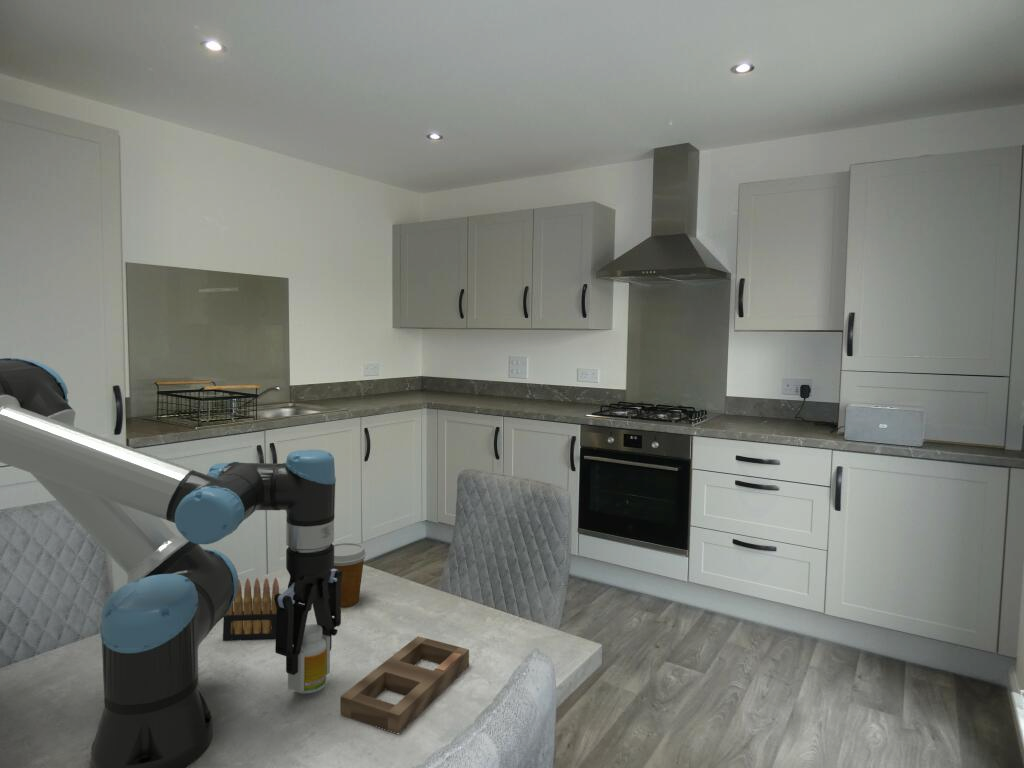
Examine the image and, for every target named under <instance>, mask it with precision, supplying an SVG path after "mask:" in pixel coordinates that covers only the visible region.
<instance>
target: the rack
mask: <svg viewBox="0 0 1024 768" xmlns="http://www.w3.org/2000/svg"><path fill="white" fill-rule="evenodd" d="M420 660H424V661H427V660H428V661H427V662H432V663H435V664H439V665H438V666H436V668H435V669H434V670H433V669H429V668H426V667H422V666H418V665H415V664H417V663H418V662H419V661H420ZM417 661H418V662H417ZM468 666H470V649H469V648H465V647H461V646H458V645H453V644H450V643H447V642H443V641H438V640H435V639H430V638H427V637H422V636H420V635H417V636H416V637H415V638H414V639H412V640H411V641H409V643H407V644H406V645H404V646H403V647H402V648H401V649H400V650H398V651H397V652H395V653H394V654H393V655H392V656H390V657H389V658H388V659H386V660H385V661H384V662H383V663H381V664H380V665H378V666H377V667H376V668H374V670H372V671H371V672H370V673H368V674H367V675H366V676H364V677H363V678H362V679H361V680H359V681H358V682H357V683H356V684H355V685H353V686H352V687H350V688H349V689H347V690H346V691H345V692H344V693H343V694H341V695H340V696H339V697H340V698H339V701H340V703H339V705H340V707H339V711H340V712H339V713H340V716H344V717H346V718H350V719H352V720H355V721H358V722H361V723H363V724H366V725H369V724H370V726H372V725H373V726H372V727H375V726H377V727H376V728H378V727H380V728H379V729H381V728H383V729H382V730H384V729H386V730H385V731H387V730H389V731H388V732H390V731H392V732H391V733H393V732H395V733H394V734H396V733H400V732H401V731H402V730H403V729H404V728H405V727H406V726H407V725H408V724H409V723H410V722H411V723H412V722H413V721H414V720H415V719H417V717H418V716H420V714H421V713H422V712H423V711H424V710H425V709H426V708H427V707H429V705H430V704H431V703H433V702H434V700H435V699H436V698H437V697H438V696H440V694H442V693H443V691H445V690H446V688H448V686H450V685H451V683H453V681H454V680H455V679H457V678H458V677H459V676H460V675H461V674H462V673H463V672H464V671H465V670H466V669H467V667H468ZM463 670H464V671H463ZM461 672H462V673H461ZM459 674H460V675H459ZM458 675H459V676H458ZM457 676H458V677H457ZM456 677H457V678H456ZM385 690H388V691H392V692H394V693H398V694H400V695H403V694H404V695H403V698H401V699H400V700H399V701H398V702H397V703H396V704H393V703H390V702H387V701H385V700H382V699H378V698H377V696H378V695H380V694H381V693H382V692H383V691H385ZM423 709H424V710H423ZM411 723H410V724H411ZM410 724H409V725H410ZM409 725H408V726H409ZM408 726H407V727H408ZM407 727H406V728H407ZM406 728H405V729H406ZM405 729H404V730H405ZM404 730H403V731H404ZM403 731H402V732H403ZM402 732H401V733H402ZM401 733H400V734H401Z"/></svg>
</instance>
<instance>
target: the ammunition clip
mask: <svg viewBox="0 0 1024 768" xmlns="http://www.w3.org/2000/svg"><path fill="white" fill-rule="evenodd" d="M238 580H239V584H238V591H237V595H236V597H235V600H234V601H233V603H232V605H231V607H230V609H229V611H228V612H227V614H226V615H225V616H224V617H223V621H222V622H223V623H222V624H223V625H222V626H223V628H222V641H223V642H233V641H234V642H235V641H237V642H238V640H239V641H240V640H241V641H263V640H264V641H268V640H276V613H277V608H276V604H275V601H274V597H275V595H276V594H277V593H279V594H280V587H279V586H280V585H279V582H278V578H277V577H274V579H273V583H272V591H270V590H271V587H270V582H269V579H268V577H265V578H264V582H263V587H262V593H261V586H260V585H261V583H260V580H259V578H258V577H256V578H255V581H254V585H253V597H252V586H251V582H250V579H249V578H246V580H245V583H244V590H243V591H244V593H243V592H242V584H241V581H240V579H239V578H238ZM271 592H272V593H271ZM242 593H243V594H242ZM243 595H244V596H243Z"/></svg>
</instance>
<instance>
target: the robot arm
mask: <svg viewBox="0 0 1024 768" xmlns="http://www.w3.org/2000/svg"><path fill="white" fill-rule="evenodd" d="M68 393H69V391H68V387H67V385H66V383H65V381H64V379H63V378H62V377H61V375H59V373H57V371H55V369H53V368H51V367H50V366H48V365H46V364H44V363H42V362H39V361H36V360H32V359H28V358H27V359H25V358H24V359H23V358H17V357H16V358H15V357H3V358H0V464H4V465H7V466H10V467H13V468H15V469H17V470H18V469H19V470H22V471H25V472H27V473H30V474H31V476H33V478H35V479H36V480H37V482H39V483H40V484H41V486H43V488H44V489H45V490H47V492H48V493H49V494H50V495H51V496H52V497H53V498H54V499H55V500H56V501H57V503H59V504H60V505H61V507H63V509H65V510H66V512H67V513H68V514H69V515H70V516H71V517H72V518H73V519H74V520H75V521H76V522H77V523H78V525H80V526H81V528H82V529H83V530H85V532H86V533H88V535H90V537H91V538H92V539H93V540H94V541H95V542H96V543H97V544H98V545H99V546H100V547H101V549H103V550H104V551H105V553H107V555H108V556H109V557H110V558H112V560H113V561H114V562H115V563H116V564H117V565H118V566H119V567H120V568H121V570H123V571H124V572H125V574H126V576H127V582H126V584H125V585H123V586H121V587H119V588H118V589H117V590H116V591H114V592H113V593H112V594H111V595H110V596H109V597H108V599H107V600H105V603H104V605H103V608H102V611H101V623H100V627H99V628H100V629H99V634H100V639H101V653H102V654H101V655H102V674H103V678H102V679H103V699H104V704H103V705H104V708H103V711H102V715H101V718H100V721H99V723H98V726H97V727H98V728H97V731H96V734H95V738H94V740H93V741H92V744H91V748H90V749H91V750H90V767H91V768H185V767H187V766H188V765H190V764H192V763H193V762H194V761H195V760H196V759H198V758H199V757H200V756H201V755H202V754H204V752H205V751H206V750H207V749H208V747H209V746H210V744H211V741H212V739H213V736H214V735H213V733H214V731H213V725H214V724H213V715H212V714H211V711H210V709H209V705H208V704H207V702H206V699H205V698H204V695H203V693H202V690H201V688H200V684H199V646H200V645H201V643H202V642H203V641H204V639H206V638H207V636H208V635H209V634H210V632H211V631H212V630H213V629H214V627H215V626H216V625H217V624H218V623H219V622H220V621H221V620H222V619H224V616H225V615H226V614H227V612H228V611H229V609H230V607H231V605H232V603H233V604H234V600H235V597H236V595H237V591H238V584H239V580H240V579H239V575H238V574H239V573H238V571H237V567H235V565H234V563H233V562H232V560H231V559H230V558H229V557H228V556H227V555H225V554H224V553H223V552H220V551H218V550H217V549H208V548H203V547H202V546H201V545H210V544H214V543H217V542H219V541H220V540H222V539H224V538H225V537H227V536H229V535H231V534H233V533H234V532H235V531H237V529H238V528H239V526H240V525H241V524H242V523H243V522H244V521H245V520H246V519H248V518H249V517H250V516H251V515H253V513H254V512H256V511H285V512H286V515H285V517H286V521H285V522H286V525H285V526H286V527H285V529H286V533H285V534H286V536H285V537H286V538H285V544H286V546H287V548H286V550H285V551H286V553H285V555H286V556H285V557H286V558H285V559H286V560H285V568H286V570H287V572H288V575H289V581H288V585H287V589H286V590H285V591H283V592H282V593H280V592H279V593H277V594H276V595H275V597H274V601H275V604H276V608H277V613H276V639H275V645H274V646H275V647H274V651H275V653H276V654H277V655H280V656H284V657H285V672H286V673H287V689H288V690H290V691H293V692H295V693H298V694H303V693H302V692H303V691H304V652H301V646H302V641H303V636H304V631H305V626H306V625H307V619H308V616H309V612H310V611H312V608H313V611H314V616H315V621H316V622H315V623H316V625H320V626H321V627H322V638H323V639H324V640H325V641H326V676H328V675H329V674H330V673H331V671H330V669H331V650H332V647H333V646H332V641H333V640H332V636H336V635H337V634H338V629H336V627H340V626H341V624H342V608H341V579H342V575H343V572H342V571H341V570H337V569H332V568H333V566H334V544H333V543H334V542H335V508H336V506H335V505H336V481H337V477H336V471H335V470H336V469H335V457H334V455H333V454H332V453H331V452H329V451H327V450H323V449H322V450H321V449H299V450H295V451H292V452H290V453H288V454H287V457H286V461H285V462H283V463H266V462H265V463H263V462H259V463H258V462H240V461H232V462H219V463H218V462H217V463H215V464H213V465H212V466H211V467H210V468H209V469H208V472H207V473H206V474H205V473H202V472H199V471H196V470H194V469H192V468H189V467H186V466H183V465H180V464H178V463H175V462H173V461H172V462H171V461H169V460H167V459H165V458H161V457H158V456H156V455H153V454H151V453H148V452H145V451H142V450H139V449H136V448H134V447H132V446H128V445H125V444H122V443H121V442H117V441H114V440H111V439H109V438H107V437H106V438H105V437H103V436H100V435H98V434H95V433H92V432H89V431H86V430H84V429H81V428H78V427H76V426H75V418H76V410H75V409H73V408H72V407H71V406H70V405H69V398H68V396H67V395H68ZM163 520H166V521H168V522H171V523H174V524H175V527H176V529H177V531H178V532H179V533H180V534H181V536H179V535H176V533H174V532H173V531H172V529H171V528H170V527H169V526H168V525H167V524H166V523H165V522H164V521H163ZM238 579H239V580H238Z"/></svg>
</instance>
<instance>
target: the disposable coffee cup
mask: <svg viewBox="0 0 1024 768" xmlns="http://www.w3.org/2000/svg"><path fill="white" fill-rule="evenodd" d="M333 545H334V566H333V568H332V569H337V570H341V571H342V572H343V575H342V579H341V609H342V608H343V607H344V608H348V607H349V608H350V607H352V606H354V605H355V606H356V605H357V604H358V603H359V600H360V591H361V585H362V576H363V569H364V561H365V558H366V556H367V551H365V547H364V546H363V545H362V544H359V543H355V542H342V543H341V542H339V543H334V544H333ZM356 603H357V604H356ZM344 608H343V609H344Z"/></svg>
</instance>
